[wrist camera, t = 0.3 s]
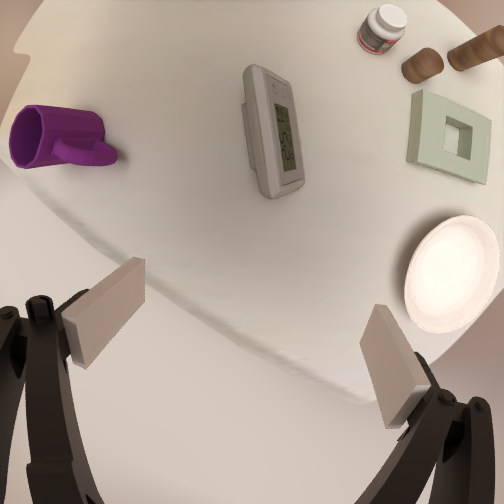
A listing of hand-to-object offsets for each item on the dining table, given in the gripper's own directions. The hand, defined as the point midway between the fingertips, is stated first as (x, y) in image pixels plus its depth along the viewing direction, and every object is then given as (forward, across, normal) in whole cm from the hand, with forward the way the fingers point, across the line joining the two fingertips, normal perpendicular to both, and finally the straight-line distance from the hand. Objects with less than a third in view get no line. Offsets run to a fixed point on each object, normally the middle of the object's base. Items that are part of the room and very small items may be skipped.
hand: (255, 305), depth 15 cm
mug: (+28, -31, +7) cm, 43 cm away
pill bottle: (+28, +11, +30) cm, 43 cm away
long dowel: (+28, +26, +33) cm, 51 cm away
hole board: (+28, +25, +18) cm, 41 cm away
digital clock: (+28, -1, +11) cm, 30 cm away
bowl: (+28, +30, -3) cm, 41 cm away
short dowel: (+28, +18, +27) cm, 43 cm away
